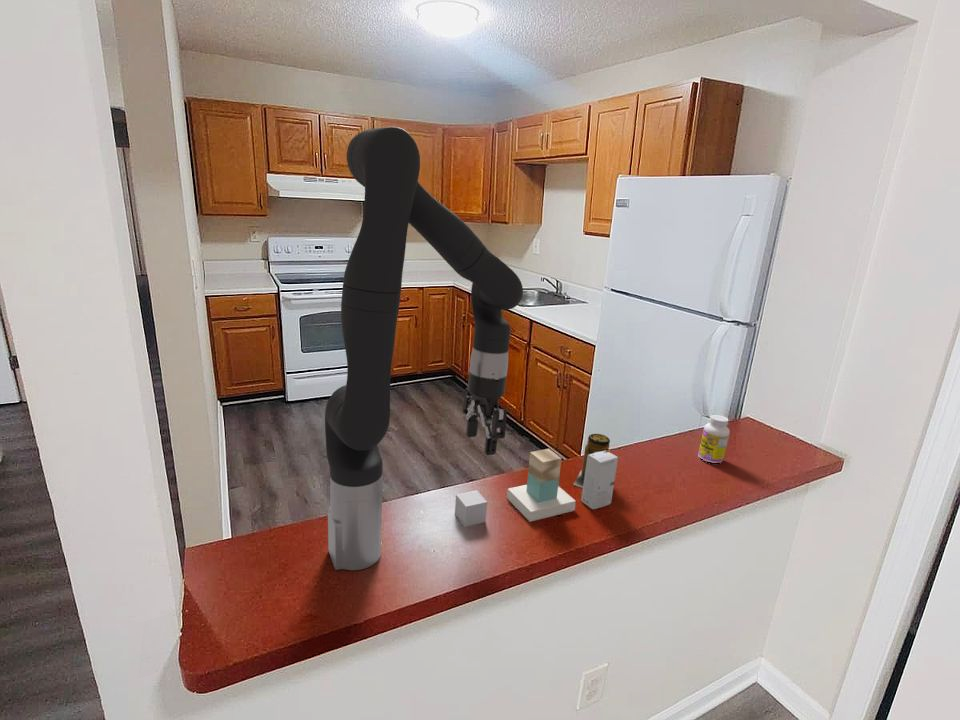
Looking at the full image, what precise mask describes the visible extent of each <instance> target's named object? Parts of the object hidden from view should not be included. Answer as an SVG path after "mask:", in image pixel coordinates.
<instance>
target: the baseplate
mask: <svg viewBox="0 0 960 720" xmlns="http://www.w3.org/2000/svg"><path fill="white" fill-rule="evenodd" d="M526 490H527V484H523V485H519V486H514V487H508V488H507V493H506V499H507V500H508V501H509V502H510V503H511V504H512V505H513V506H514V507H515V508H516V509H517V510H518V511H519V512H520V513H521V514H522V515H523V517H524V518H525V519H526V520H527V521H528V522H529V523H530V522H534V521H538V520H542V519H546V518H551V517H554V516H558V515H562V514H566V513H571V512H575V509H576V502H577V501H576V500H575V498H573V497H572V496H571V495H570V494H568V492H566V490H564V489H563V488H561V486H560V485H558V492H557V498H556V499H551V500H547V501H543V502H539V503H538V502H537V501H536V500H535V499H534V498H533V497H532V496H531V495H530V494H529V493H528V492H527V491H526Z"/></svg>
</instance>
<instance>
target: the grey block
mask: <svg viewBox="0 0 960 720" xmlns="http://www.w3.org/2000/svg"><path fill="white" fill-rule="evenodd" d="M487 508H488V501H487V500H486V499H485V497H483V495H482V494H481V493H480V492H479V491H478V490H477V489H475V490H472V491H466V492H461V493H457V494H455V507H454V515H455V516H456V518H457V517H458V518H457V519H458V521H459V522H460V523H461V525H462V526H463V527H464V528H467V527H470V526H475V525H479V524H482V523H486V521H487V520H486V519H487V518H486V517H487V510H488V509H487ZM474 524H475V525H474ZM466 526H467V527H466Z"/></svg>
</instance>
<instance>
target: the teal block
mask: <svg viewBox="0 0 960 720" xmlns="http://www.w3.org/2000/svg"><path fill="white" fill-rule="evenodd" d="M559 483H560V478H559V479H554V480H550V481H545V482H541V483H540V482H539V481H538V480H537V479H536V478H535V477H533V476H532V475H531V474H530V473H529V472H527V481H526V485H527V490H526V491H527V492H528V493H529V494H530V495H531V496H532V497H533V498H534V499H535V500H536V501H537V502H538V503H539V502H543V501H547V500H551V499H556V498H557V492H558V486H559Z"/></svg>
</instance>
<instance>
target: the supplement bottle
mask: <svg viewBox="0 0 960 720" xmlns="http://www.w3.org/2000/svg"><path fill="white" fill-rule="evenodd" d="M728 425H729V418H728V417H726V416H724V415H721V414H711V415H710V417H709V422H708V423H706V424H705V425H704V426H703V431H702V436H701V440H700V444H699V448H698V449H699V450H698V454H697V456H698V458H699V457H700V458H701V459H703V460H705V461H708V462H712V463H717V462H722V461H724V458H725V454H726V449H727V445H728V442H729V437H730V432H731V431H730V429H729V428H728ZM700 458H699V459H700ZM701 459H700V460H701ZM703 460H702V461H703ZM722 463H723V462H722Z"/></svg>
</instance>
